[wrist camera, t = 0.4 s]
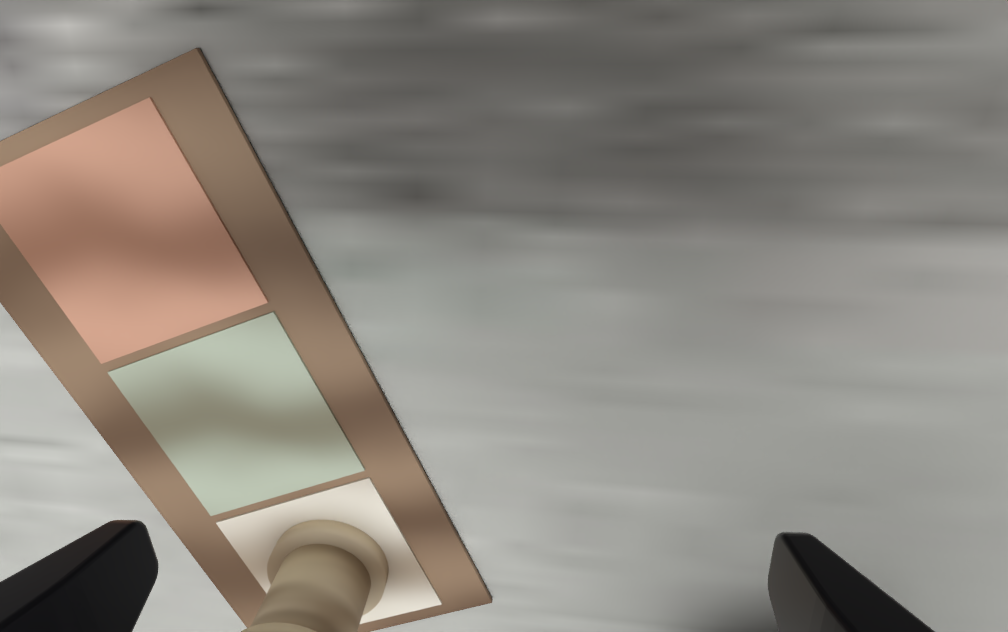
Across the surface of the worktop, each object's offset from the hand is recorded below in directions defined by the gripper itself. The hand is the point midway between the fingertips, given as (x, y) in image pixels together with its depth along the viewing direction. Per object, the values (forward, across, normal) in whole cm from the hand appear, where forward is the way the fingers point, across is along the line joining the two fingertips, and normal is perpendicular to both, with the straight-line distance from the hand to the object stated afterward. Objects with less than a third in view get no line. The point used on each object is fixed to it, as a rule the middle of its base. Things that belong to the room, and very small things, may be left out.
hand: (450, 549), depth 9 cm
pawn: (+14, +8, +14) cm, 22 cm away
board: (+14, +11, +7) cm, 19 cm away
